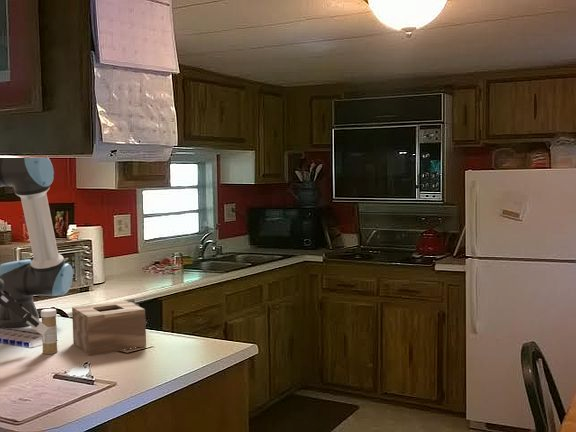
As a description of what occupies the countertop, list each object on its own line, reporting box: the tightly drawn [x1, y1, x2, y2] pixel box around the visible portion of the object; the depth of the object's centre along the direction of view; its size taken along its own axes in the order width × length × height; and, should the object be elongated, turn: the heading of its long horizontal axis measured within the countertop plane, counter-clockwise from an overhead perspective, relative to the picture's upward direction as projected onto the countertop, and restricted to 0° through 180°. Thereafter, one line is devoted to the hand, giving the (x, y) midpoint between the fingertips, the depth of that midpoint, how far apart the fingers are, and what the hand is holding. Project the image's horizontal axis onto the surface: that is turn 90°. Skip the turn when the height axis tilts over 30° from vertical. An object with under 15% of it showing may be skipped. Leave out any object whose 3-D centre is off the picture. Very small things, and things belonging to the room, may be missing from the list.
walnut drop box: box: [71, 300, 147, 357], centre depth 220 cm, size 18×18×12 cm
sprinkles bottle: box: [40, 308, 58, 355], centre depth 212 cm, size 5×5×14 cm
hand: (40, 327), depth 210 cm, fingers open, 13 cm apart
